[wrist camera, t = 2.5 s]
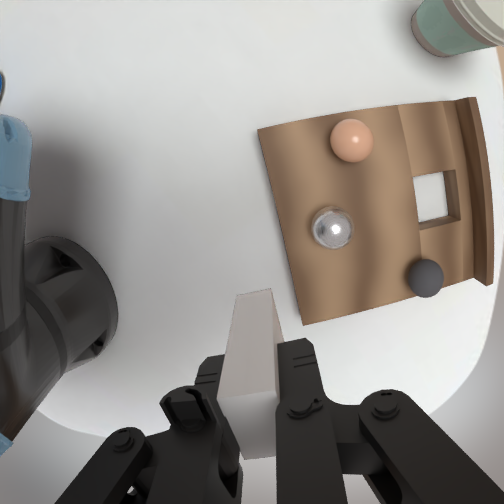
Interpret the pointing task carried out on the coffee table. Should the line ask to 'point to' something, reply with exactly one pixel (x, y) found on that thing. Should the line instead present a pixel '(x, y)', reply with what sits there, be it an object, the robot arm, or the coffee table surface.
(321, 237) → the steel ball
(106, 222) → the coffee table surface
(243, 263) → the coffee table surface
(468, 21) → the coffee cup
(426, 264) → the black ball
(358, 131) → the clay ball
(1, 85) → the beverage can
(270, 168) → the wooden board
